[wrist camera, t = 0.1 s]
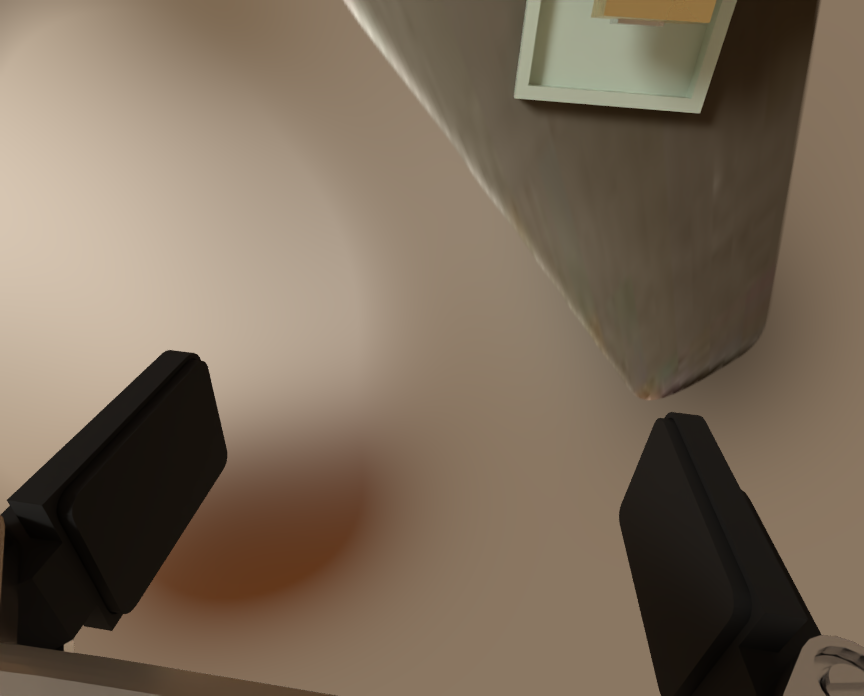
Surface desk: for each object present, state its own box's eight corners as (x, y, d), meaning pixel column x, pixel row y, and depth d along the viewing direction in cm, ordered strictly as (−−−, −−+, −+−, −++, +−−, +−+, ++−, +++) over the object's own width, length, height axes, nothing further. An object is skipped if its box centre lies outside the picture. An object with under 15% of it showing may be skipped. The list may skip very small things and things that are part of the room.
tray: (533, -52, 30) (535, -57, 28) (737, -40, 29) (751, -44, 27) (513, 95, 34) (514, 98, 33) (690, 109, 34) (699, 113, 32)
